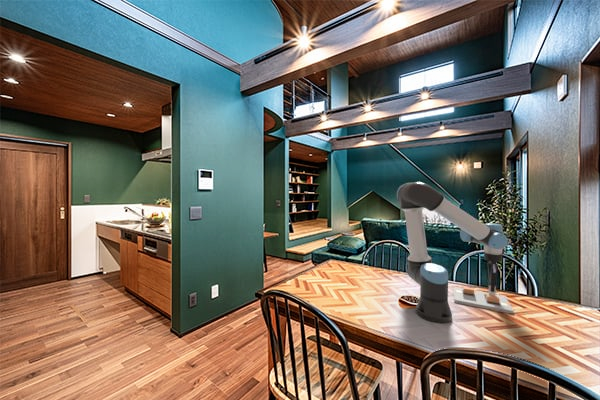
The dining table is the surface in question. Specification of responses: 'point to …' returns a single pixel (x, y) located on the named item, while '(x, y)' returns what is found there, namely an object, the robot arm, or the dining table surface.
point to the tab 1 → (468, 290)
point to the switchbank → (482, 300)
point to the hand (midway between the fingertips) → (492, 296)
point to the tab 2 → (492, 298)
